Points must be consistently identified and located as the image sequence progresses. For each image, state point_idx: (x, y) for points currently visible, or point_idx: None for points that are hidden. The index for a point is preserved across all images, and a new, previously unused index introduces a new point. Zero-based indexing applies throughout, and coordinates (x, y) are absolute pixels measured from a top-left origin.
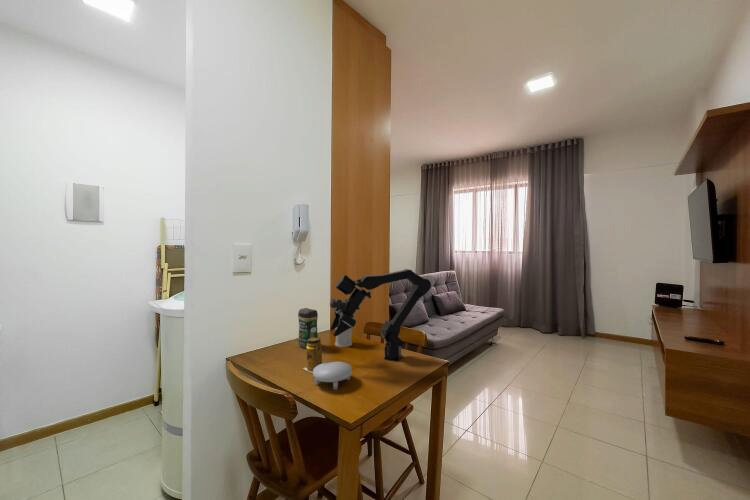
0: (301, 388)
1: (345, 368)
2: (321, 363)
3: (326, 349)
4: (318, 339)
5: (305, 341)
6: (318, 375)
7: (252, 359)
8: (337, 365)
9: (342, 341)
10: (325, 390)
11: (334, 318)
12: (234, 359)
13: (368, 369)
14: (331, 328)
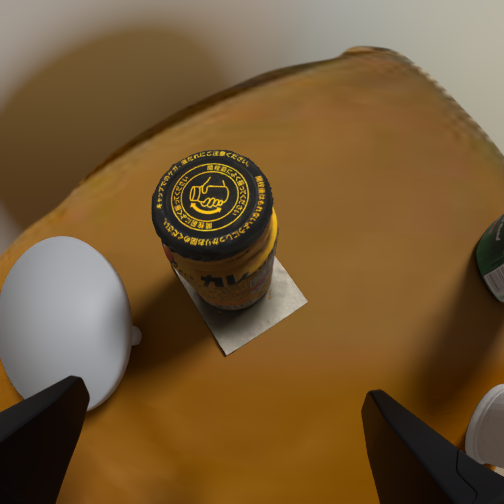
0: (80, 215)
1: (37, 380)
2: (209, 302)
3: (463, 346)
4: (182, 234)
5: (496, 232)
6: (27, 255)
7: (380, 82)
8: (71, 359)
9: (487, 427)
10: None
11: (489, 476)
12: (380, 56)
13: (143, 500)
14: (372, 404)
